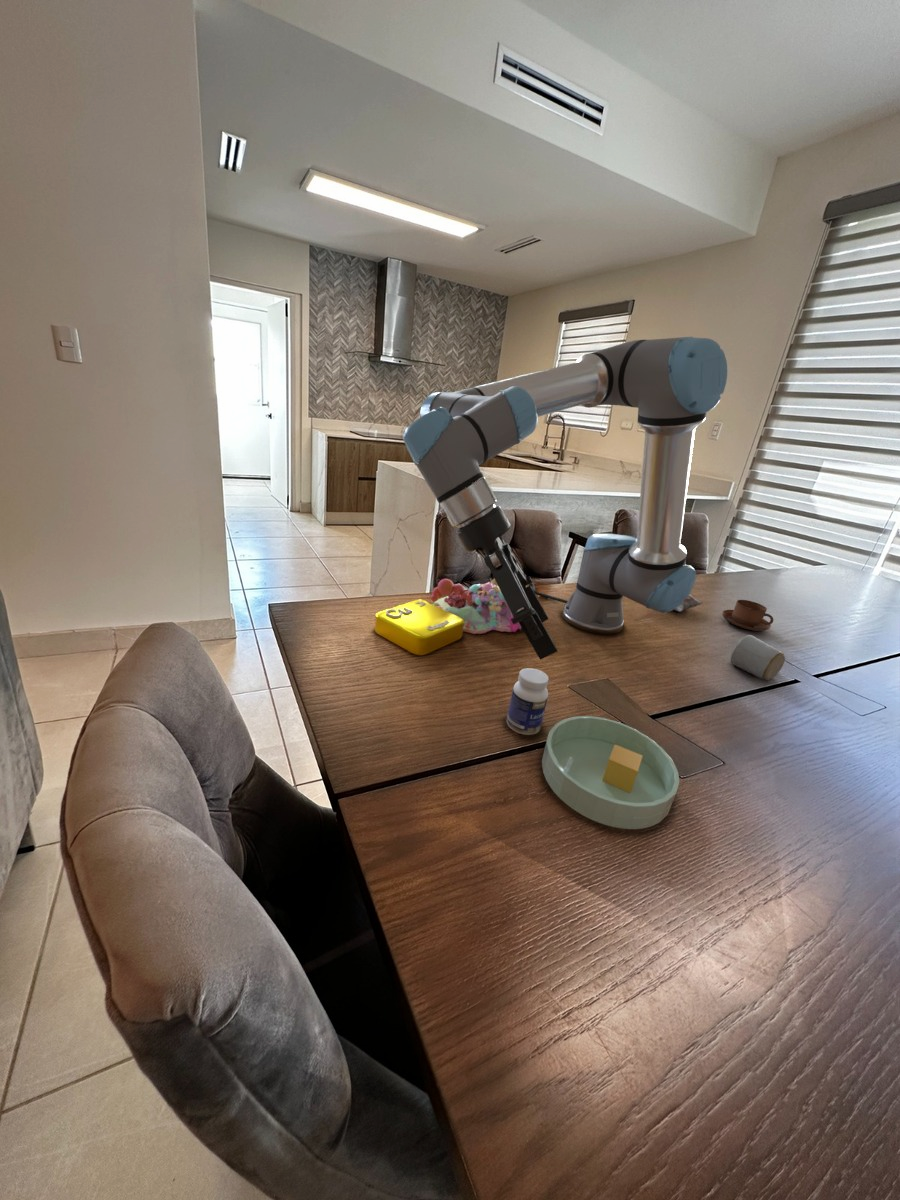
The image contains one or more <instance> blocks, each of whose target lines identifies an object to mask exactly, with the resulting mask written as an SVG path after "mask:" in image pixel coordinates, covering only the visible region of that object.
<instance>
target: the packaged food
mask: <svg viewBox="0 0 900 1200" xmlns="http://www.w3.org/2000/svg"><path fill="white" fill-rule="evenodd" d="M701 605H703V601H701V600H698V599H696V597H694V596H693V595H691V592H690V593H689V595H688V596H687V597H686V599H685V600H684V601H683V602H682V603H681V604H680V605H679V606H678V607H677V608H675V609H674V610H673V611H675V612H678V613H681V612H682V611H685V610H689V609H691V608H695V607H697V606H701Z"/></svg>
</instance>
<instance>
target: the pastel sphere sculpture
mask: <svg viewBox="0 0 900 1200" xmlns="http://www.w3.org/2000/svg"><path fill="white" fill-rule="evenodd" d="M526 586H529V584H528V585H526ZM531 588H532V586H531ZM535 595H536V597H537V599H538V600H539V598H540V596H539V595H537V594H535ZM443 596H444V597H443ZM430 600H431V604H432V605H434V606H437V607H439V608H441V609H443V610H445V611H447V612H450V613H452V614H454V615H456V616H458V617H460V618H462V619H463V620H464V626H463V633H469V634H473V635H475V634H479V635H480V634H486V633H487V632H490V631H497V632H507V633H516V632H517V631H518V630H519V631H521V630H522V627H521V625H520V624H519V622H518V623H516V624H513V623H512V621H511V619H512V618H513V615H512V613H511V611H510V609H509V607H508V605H507V603H506V601H505V599H504V596H503V594H502V592H501V590H500V588H499V586H498V584H497V582H496V580H495V579H494V578H493V579H492V581H487V582H486V583H478V584H476V583H475V584H472V585H471V586H469V588H468V589H465V587H464V586H463V584H461V583H457V584H454V582H453V581H452V580H451V579H449V578H443V579H441V580H440V581H439V582H438V584H437V586H435V587H434V588H433V590H432V594H431V595H430ZM522 609H524V608H521V609H519V610H518V611H520V610H522Z"/></svg>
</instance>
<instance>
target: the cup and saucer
mask: <svg viewBox="0 0 900 1200" xmlns="http://www.w3.org/2000/svg"><path fill="white" fill-rule="evenodd" d="M767 609H768V608H767V607H766V606H765V605H763V604H761V603H758V602H755V601H752V600H748V599H737V600H736V603H735V605H734V608H733V609H725V610H723V611H722V617H723V618H724V619H725V620H726V621H727V622H728V623H730V624H732V625H733V626H735V627H738V628H741V629H744V630H749V631H756V632H763V631H766V630H770V628H771V627H772V624H773V623H774V617H773V616H772V615H771V614H769V613H767ZM765 617H768V618H769V620H770V621H768V620H766V619H765Z"/></svg>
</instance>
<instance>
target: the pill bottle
mask: <svg viewBox="0 0 900 1200" xmlns="http://www.w3.org/2000/svg"><path fill="white" fill-rule="evenodd" d="M549 678H550V677H549V676H548V674H546V673H545V672H544V671H543V670H540V669H537V668H532V667H526V668H522V669H521V670H519V673H518V677H517V680H518V681H516V682H515V684H514V685H513V688H512V691H511V696H510V702H509V708H508V710H507V716H506V724H507V726H508V727H509V728H510V729H511V730H512V731H514V732H516V733H518V734H521V735H525V736H526V735H529V736H530V735H531V736H532V735H535V734H537V733H539V732H540V731H541V729H542V724H543V719H544V715H545V711H546V708H547V707H546V706H547V703H548V702H547V701H548V698H549V691H548V689H547V687H548V684H549V680H550V679H549Z"/></svg>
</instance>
